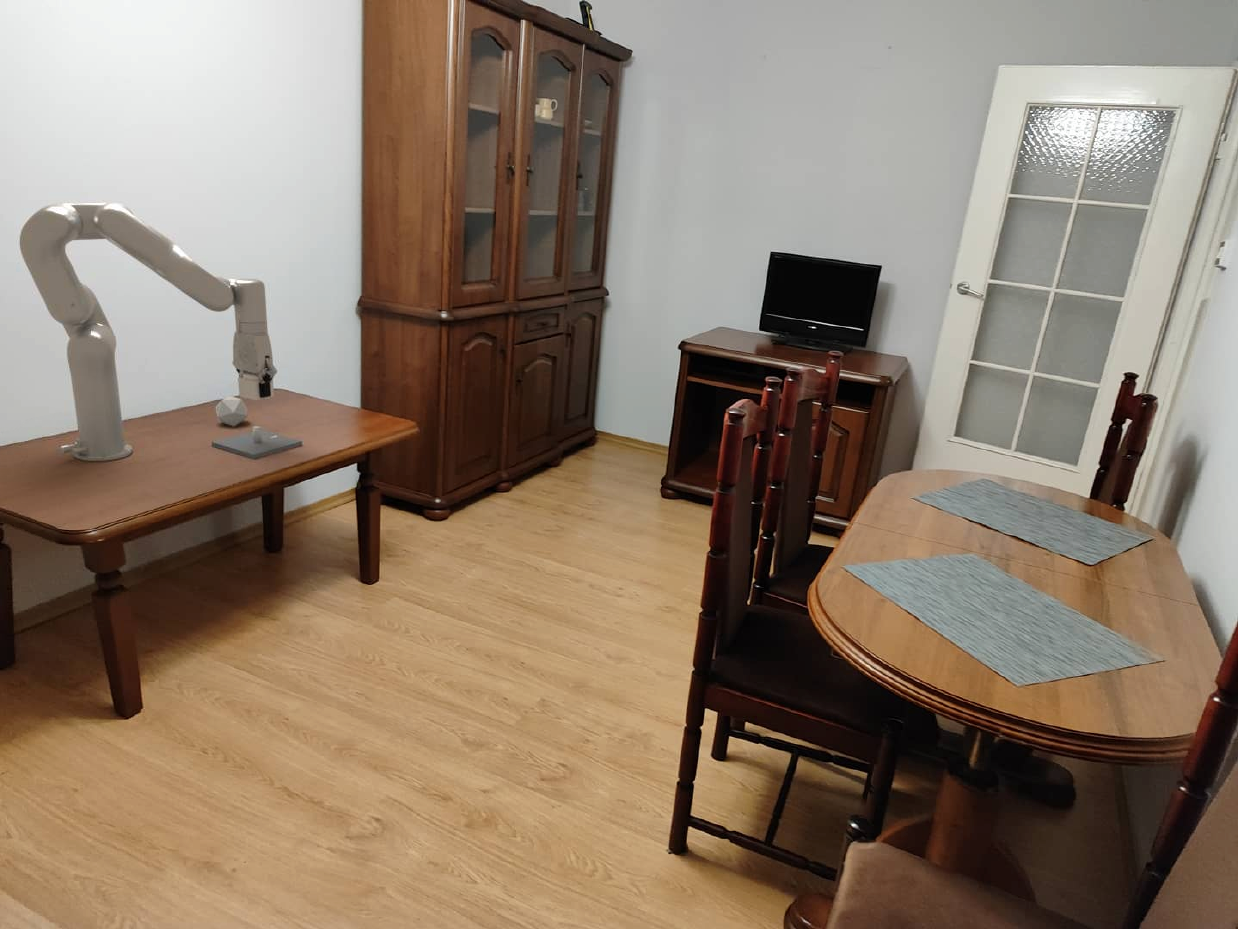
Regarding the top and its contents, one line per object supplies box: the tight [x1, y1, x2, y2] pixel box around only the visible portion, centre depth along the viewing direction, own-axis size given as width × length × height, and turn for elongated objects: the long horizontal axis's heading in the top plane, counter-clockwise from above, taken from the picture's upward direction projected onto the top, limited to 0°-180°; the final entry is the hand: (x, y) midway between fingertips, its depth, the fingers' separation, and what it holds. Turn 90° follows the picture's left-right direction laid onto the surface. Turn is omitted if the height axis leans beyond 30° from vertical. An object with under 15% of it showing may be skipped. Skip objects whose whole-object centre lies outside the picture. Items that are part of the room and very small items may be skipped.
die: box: [215, 395, 249, 427], centre depth 238 cm, size 8×9×10 cm
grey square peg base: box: [211, 426, 303, 460], centre depth 222 cm, size 16×16×5 cm
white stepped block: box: [237, 372, 275, 401], centre depth 218 cm, size 6×6×6 cm
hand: (256, 394), depth 218 cm, fingers closed on white stepped block, 6 cm apart
